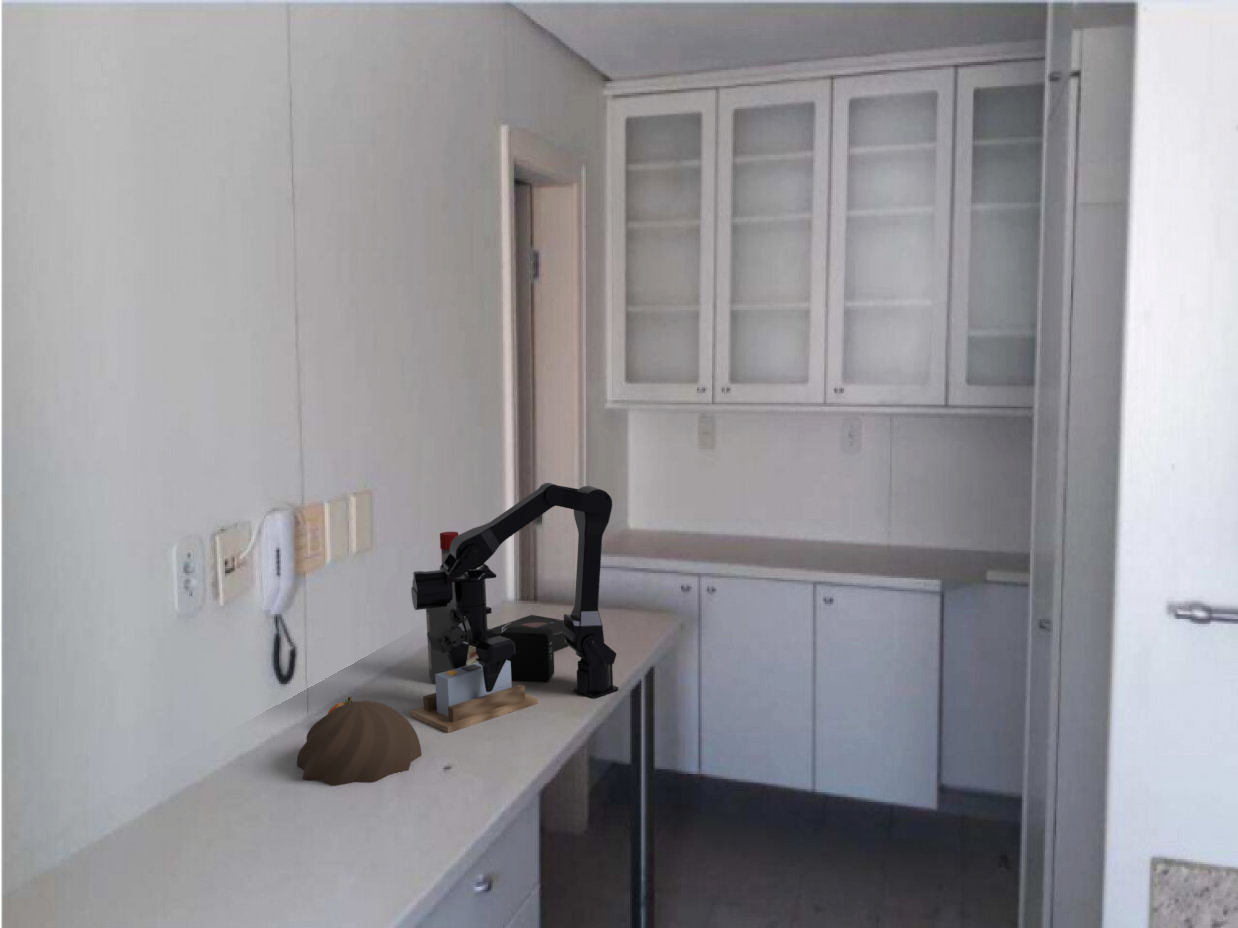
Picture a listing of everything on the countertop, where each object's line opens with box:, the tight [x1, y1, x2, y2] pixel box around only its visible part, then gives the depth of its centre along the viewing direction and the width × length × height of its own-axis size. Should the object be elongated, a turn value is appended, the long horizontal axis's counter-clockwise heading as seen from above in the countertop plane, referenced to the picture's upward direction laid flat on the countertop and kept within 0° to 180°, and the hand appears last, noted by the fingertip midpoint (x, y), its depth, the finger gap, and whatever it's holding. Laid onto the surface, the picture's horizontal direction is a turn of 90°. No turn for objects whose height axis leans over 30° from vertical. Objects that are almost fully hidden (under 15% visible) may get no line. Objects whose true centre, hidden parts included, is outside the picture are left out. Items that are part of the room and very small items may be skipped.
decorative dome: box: [296, 700, 422, 787], centre depth 163 cm, size 19×20×10 cm
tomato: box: [327, 696, 355, 714], centre depth 178 cm, size 8×7×7 cm
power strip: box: [435, 660, 513, 716], centre depth 185 cm, size 14×4×7 cm, turn 134°
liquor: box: [425, 531, 479, 685], centre depth 202 cm, size 9×9×30 cm
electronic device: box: [500, 627, 555, 683], centre depth 202 cm, size 4×10×10 cm, turn 78°
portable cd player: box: [486, 614, 570, 653], centre depth 228 cm, size 16×17×4 cm
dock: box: [410, 684, 539, 734], centre depth 185 cm, size 20×12×4 cm, turn 134°
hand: (474, 686), depth 185 cm, fingers open, 9 cm apart
